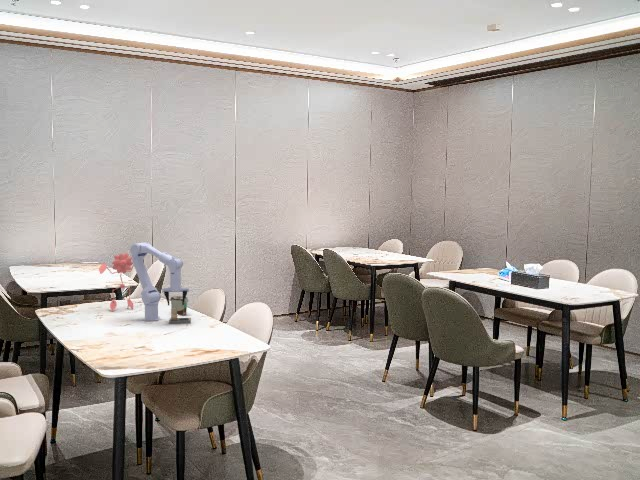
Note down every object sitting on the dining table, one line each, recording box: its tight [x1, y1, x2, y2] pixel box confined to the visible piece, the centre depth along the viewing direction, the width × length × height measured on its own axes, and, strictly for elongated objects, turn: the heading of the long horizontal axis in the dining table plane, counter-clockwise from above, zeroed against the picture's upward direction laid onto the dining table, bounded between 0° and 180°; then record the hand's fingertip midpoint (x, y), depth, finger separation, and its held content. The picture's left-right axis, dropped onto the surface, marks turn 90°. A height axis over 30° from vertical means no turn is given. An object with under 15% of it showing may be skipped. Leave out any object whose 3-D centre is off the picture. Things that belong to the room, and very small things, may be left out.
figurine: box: [98, 252, 141, 314], centre depth 372 cm, size 15×26×35 cm, turn 122°
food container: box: [169, 295, 189, 317], centre depth 368 cm, size 12×6×10 cm, turn 58°
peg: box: [170, 307, 178, 320], centre depth 345 cm, size 3×3×6 cm
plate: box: [168, 317, 192, 325], centre depth 346 cm, size 8×12×2 cm
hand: (175, 305), depth 344 cm, fingers open, 7 cm apart
